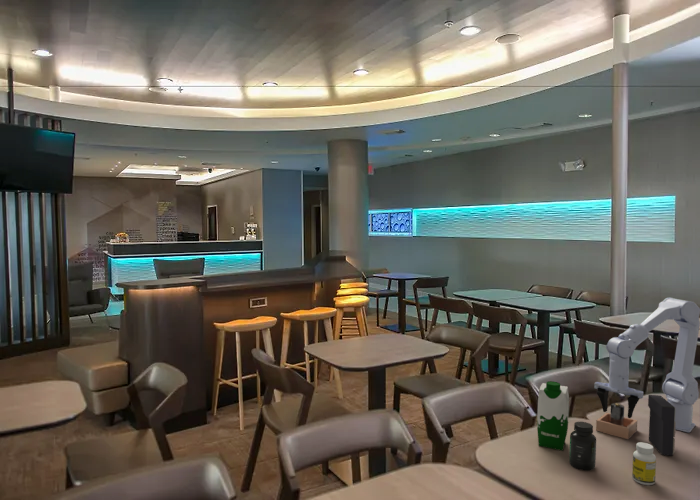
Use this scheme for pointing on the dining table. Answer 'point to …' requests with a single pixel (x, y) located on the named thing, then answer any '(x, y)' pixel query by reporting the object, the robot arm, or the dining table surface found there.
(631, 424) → the tray
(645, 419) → the dining table surface
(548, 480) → the dining table surface
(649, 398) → the black box
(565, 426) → the milk carton
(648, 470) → the supplement bottle
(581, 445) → the supplement bottle
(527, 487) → the dining table surface
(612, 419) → the pepper mill
